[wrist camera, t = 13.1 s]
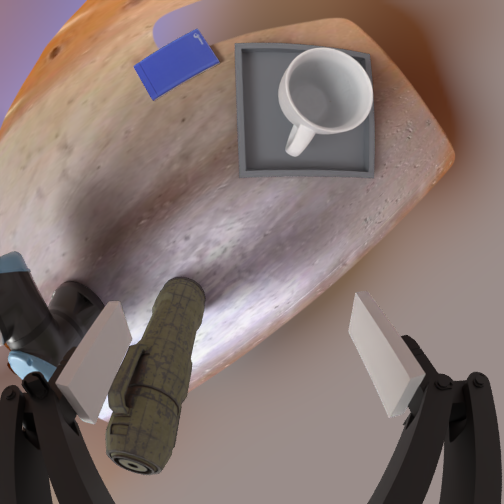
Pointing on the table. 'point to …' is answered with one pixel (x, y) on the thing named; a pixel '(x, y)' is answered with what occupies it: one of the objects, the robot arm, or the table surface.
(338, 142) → the tray
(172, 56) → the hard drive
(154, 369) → the thermos
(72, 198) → the table surface
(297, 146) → the mug
